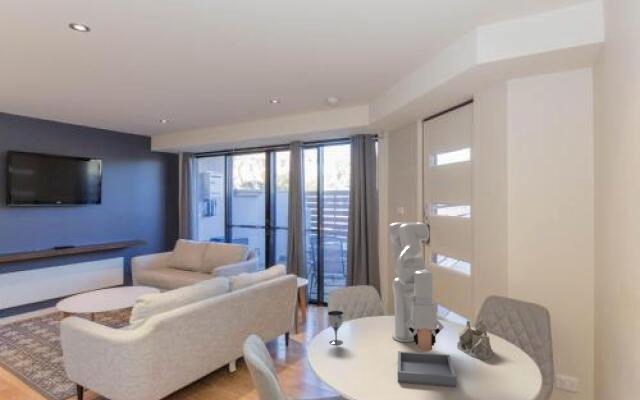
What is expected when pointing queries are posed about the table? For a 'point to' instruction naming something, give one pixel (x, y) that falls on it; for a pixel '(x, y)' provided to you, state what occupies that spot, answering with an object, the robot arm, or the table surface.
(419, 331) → the cup
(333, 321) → the wine glass
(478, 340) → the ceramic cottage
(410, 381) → the tray
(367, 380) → the table surface
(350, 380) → the table surface
